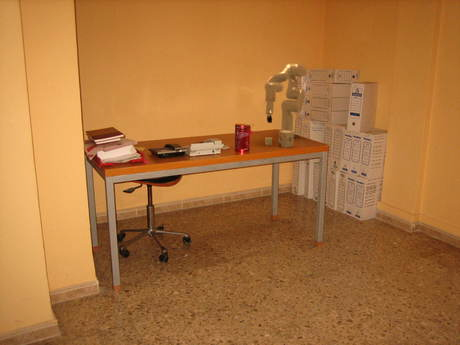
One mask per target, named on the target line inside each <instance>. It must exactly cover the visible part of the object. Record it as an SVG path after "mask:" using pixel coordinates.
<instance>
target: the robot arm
mask: <svg viewBox="0 0 460 345" xmlns="http://www.w3.org/2000/svg"><path fill="white" fill-rule="evenodd" d="M306 75H307V67H306V65H305V66H304V65H303V64H300V63H297V62H295V63H294V62H293V63H292V62H291V63H290V62H287V63H285V64H284V65H283V66H282V68H281V69H280V70H279V72H278V73H276V74H274V75H272V76H270V77H268V79H267V80H266V82H265V85H264V90H265V100H264V101H265V102H266V104H265V105H266V106H265V107H266V108H265V109H266V110H265V115H266V121H267V123H268V124H272V123H273V114H274V106H275V104H274V103H275V102H276V96H277V95H276V94H277V93H281V92H283V89H284V84H282V83H284V82H286V81H288V83H287V87H286V92H285V98H286V99H285V100H283V101H281V104H280V105H281V106H280V107H281V126H280V127H281V128H280V131H283V130H288V131H292V132H294V131H293V129H294V128H293V127H294V115H293V113H301V111H302V110H303V106H304V102H305V97H306V92H305V91H306V90H305V89H304V88H301V87H299V84H300V83H299V80H298V78H299V77H300V78H301V77H302V78H304V77H305V76H306ZM297 77H298V78H297Z"/></svg>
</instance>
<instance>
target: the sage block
mask: <svg viewBox="0 0 460 345" xmlns="http://www.w3.org/2000/svg"><path fill="white" fill-rule="evenodd" d="M264 138H265V139H264V141H265V142H264V144H265V146H273V138H272V137H266V136H265V137H264Z"/></svg>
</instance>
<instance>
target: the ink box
mask: <svg viewBox="0 0 460 345" xmlns="http://www.w3.org/2000/svg"><path fill="white" fill-rule="evenodd" d="M294 139H295V131H288V130H283V131H281V130H280V131H278V144H277V146H278V147H281V148H287V149H288V148H292V147H294Z"/></svg>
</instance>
